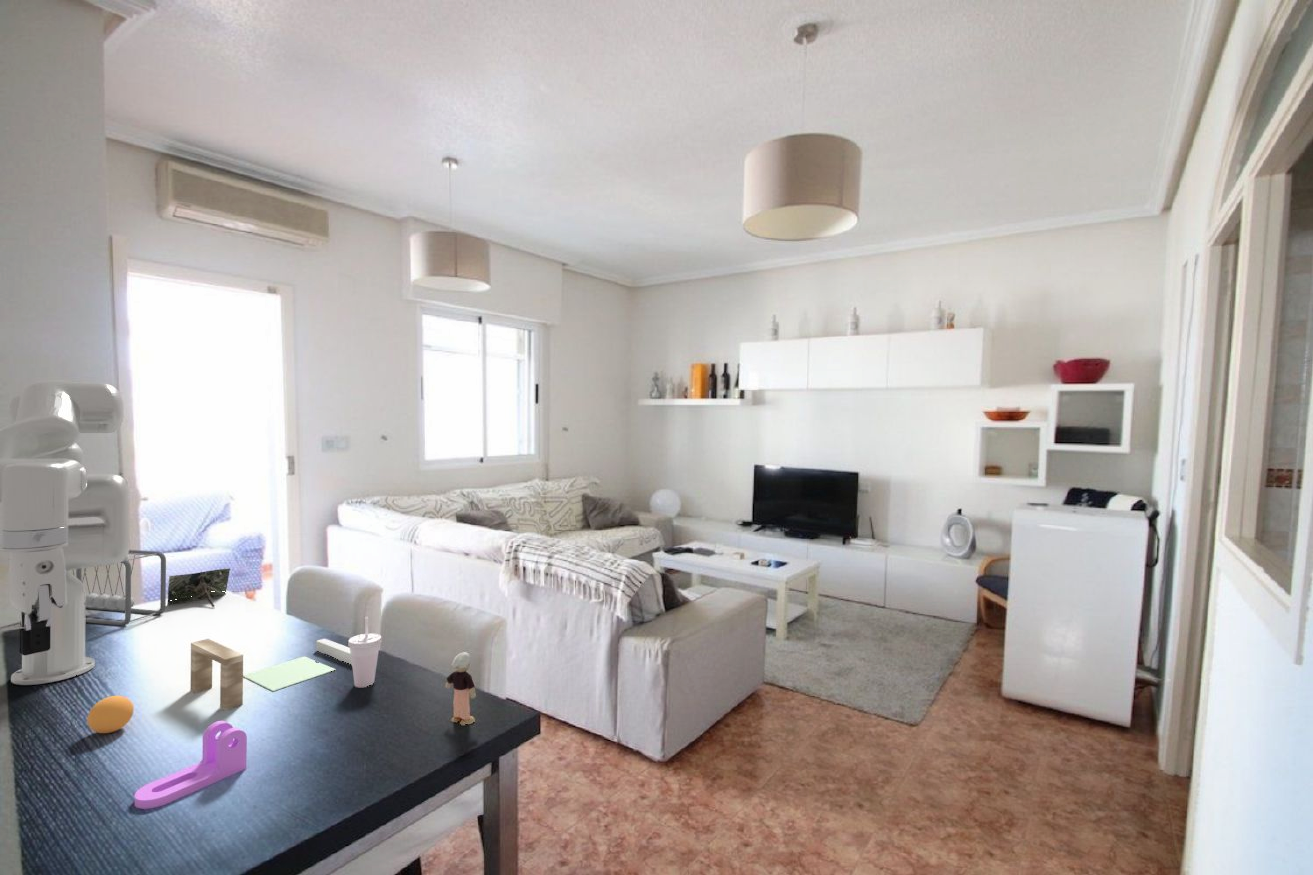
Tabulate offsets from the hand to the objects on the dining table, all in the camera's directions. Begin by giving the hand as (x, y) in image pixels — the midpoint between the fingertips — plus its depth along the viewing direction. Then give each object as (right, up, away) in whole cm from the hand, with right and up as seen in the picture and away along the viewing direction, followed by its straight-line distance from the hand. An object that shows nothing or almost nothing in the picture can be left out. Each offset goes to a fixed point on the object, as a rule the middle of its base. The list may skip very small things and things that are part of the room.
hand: (34, 651), depth 96 cm
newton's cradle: (-53, -15, +68) cm, 87 cm away
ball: (+5, -14, +8) cm, 17 cm away
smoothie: (+39, -18, +30) cm, 52 cm away
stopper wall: (+26, -17, +43) cm, 53 cm away
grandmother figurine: (+64, -19, +15) cm, 68 cm away
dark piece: (-38, -10, +84) cm, 93 cm away
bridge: (+13, -17, +22) cm, 31 cm away
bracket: (+30, -18, -6) cm, 35 cm away
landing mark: (+20, -17, +34) cm, 43 cm away
